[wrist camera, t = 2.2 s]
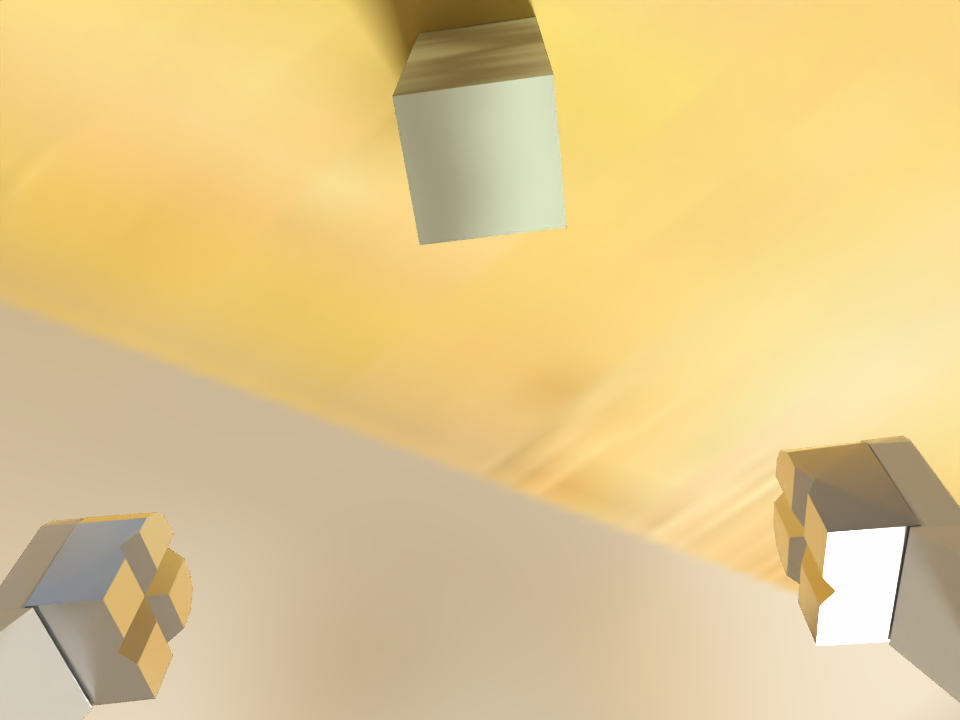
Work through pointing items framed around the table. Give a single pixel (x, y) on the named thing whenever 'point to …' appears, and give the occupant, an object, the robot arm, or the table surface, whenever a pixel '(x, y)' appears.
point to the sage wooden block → (481, 132)
